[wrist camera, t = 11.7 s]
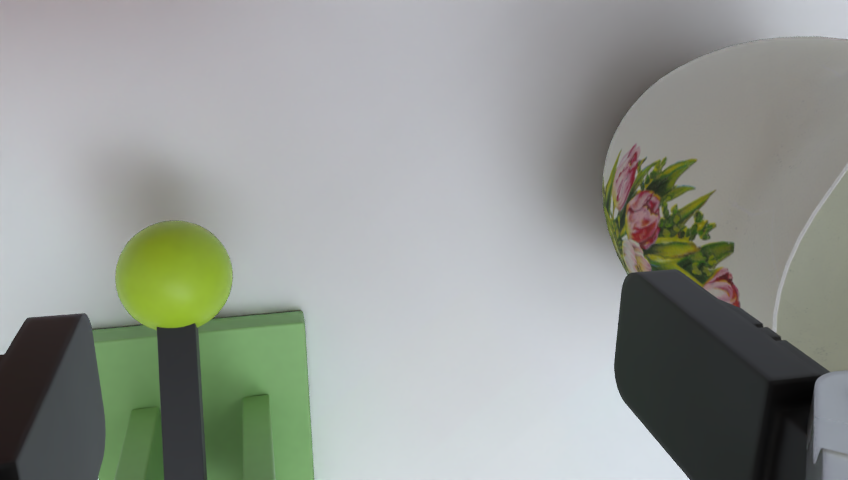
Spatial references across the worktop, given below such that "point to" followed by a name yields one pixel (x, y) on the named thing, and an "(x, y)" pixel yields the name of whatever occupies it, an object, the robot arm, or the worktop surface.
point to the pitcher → (744, 185)
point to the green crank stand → (213, 399)
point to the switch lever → (176, 325)
